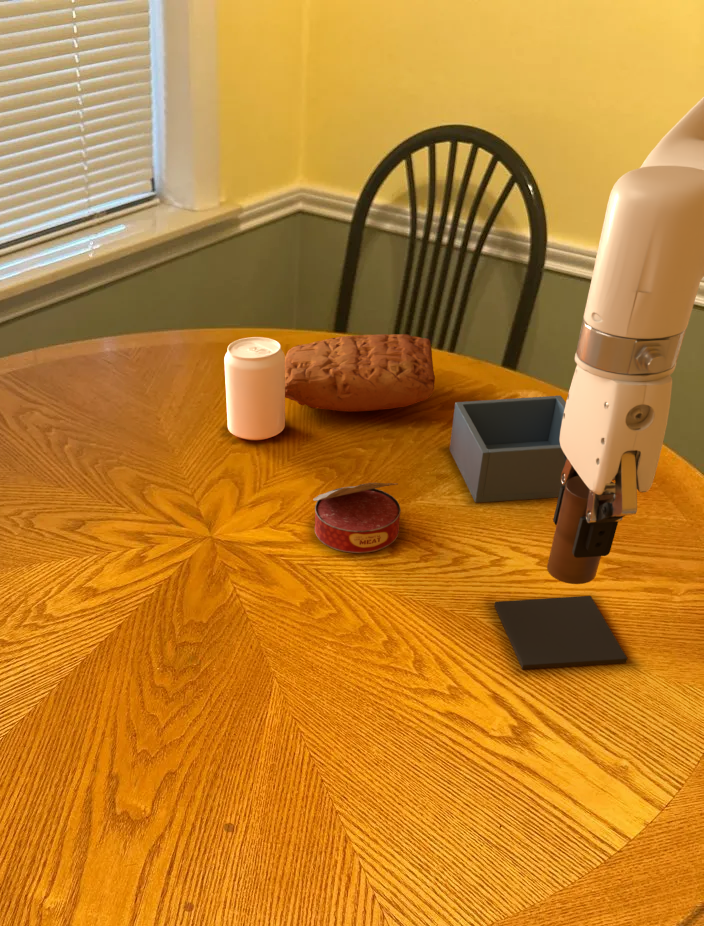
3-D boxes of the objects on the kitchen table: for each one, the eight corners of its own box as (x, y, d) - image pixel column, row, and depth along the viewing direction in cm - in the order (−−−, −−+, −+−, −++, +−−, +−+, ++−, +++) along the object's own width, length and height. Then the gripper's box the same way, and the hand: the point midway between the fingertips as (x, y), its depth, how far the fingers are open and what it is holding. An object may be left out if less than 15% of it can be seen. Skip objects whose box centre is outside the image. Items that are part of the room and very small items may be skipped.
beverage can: (257, 411, 130) (254, 330, 123) (297, 428, 126) (297, 345, 118) (216, 431, 126) (211, 348, 119) (255, 449, 122) (253, 364, 114)
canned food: (320, 576, 106) (280, 509, 102) (349, 525, 112) (312, 460, 108) (404, 560, 99) (365, 488, 94) (429, 507, 105) (394, 436, 100)
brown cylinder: (586, 555, 86) (607, 473, 80) (603, 582, 82) (626, 498, 77) (540, 558, 86) (559, 476, 80) (555, 585, 82) (575, 501, 77)
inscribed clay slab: (432, 379, 136) (437, 327, 131) (430, 431, 123) (436, 376, 118) (288, 375, 140) (287, 324, 134) (272, 425, 127) (271, 371, 122)
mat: (589, 599, 93) (590, 595, 93) (626, 663, 85) (627, 658, 85) (493, 606, 93) (494, 601, 93) (522, 669, 85) (523, 665, 85)
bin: (550, 443, 119) (560, 395, 114) (586, 495, 108) (598, 445, 104) (449, 449, 119) (455, 402, 114) (475, 502, 108) (482, 452, 104)
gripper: (726, 387, 64) (658, 591, 75) (634, 304, 77) (588, 489, 88) (621, 393, 64) (570, 596, 75) (547, 309, 77) (512, 494, 88)
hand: (580, 537), depth 82 cm, fingers closed on brown cylinder, 4 cm apart
